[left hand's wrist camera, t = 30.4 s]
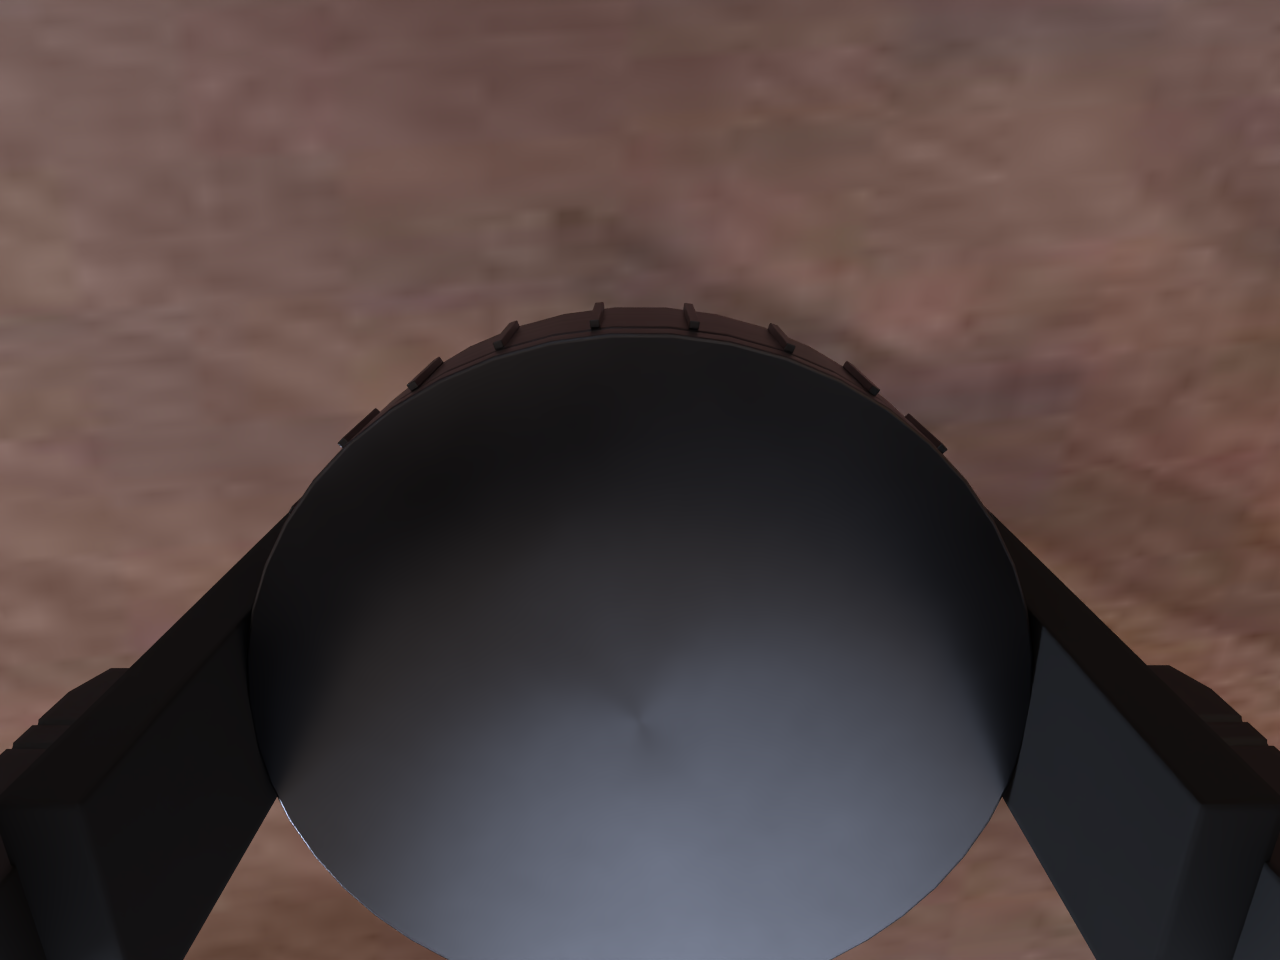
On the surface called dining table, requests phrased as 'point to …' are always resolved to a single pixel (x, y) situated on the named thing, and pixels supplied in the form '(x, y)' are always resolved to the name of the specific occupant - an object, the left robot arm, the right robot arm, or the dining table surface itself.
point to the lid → (639, 650)
